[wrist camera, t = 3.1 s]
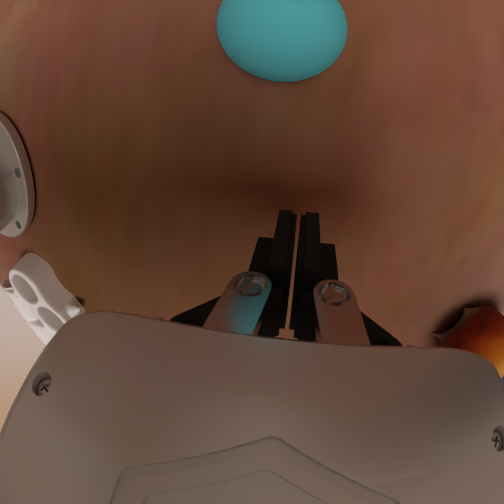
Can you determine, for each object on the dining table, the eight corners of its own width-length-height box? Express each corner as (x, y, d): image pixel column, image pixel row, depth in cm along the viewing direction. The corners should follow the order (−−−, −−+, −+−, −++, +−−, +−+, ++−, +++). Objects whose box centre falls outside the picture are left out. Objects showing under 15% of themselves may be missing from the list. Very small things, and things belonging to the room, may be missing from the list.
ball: (232, 81, 12) (199, 84, 8) (231, -7, 9) (199, -42, 5) (336, 86, 11) (358, 90, 7) (336, -4, 8) (356, -40, 4)
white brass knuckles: (0, 252, 24) (62, 247, 21) (64, 347, 34) (136, 365, 31) (-15, 268, 21) (40, 270, 18) (55, 364, 31) (127, 386, 28)
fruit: (465, 290, 15) (522, 373, 10) (486, 278, 19) (531, 339, 13) (400, 356, 20) (445, 427, 14) (437, 333, 23) (474, 389, 18)
